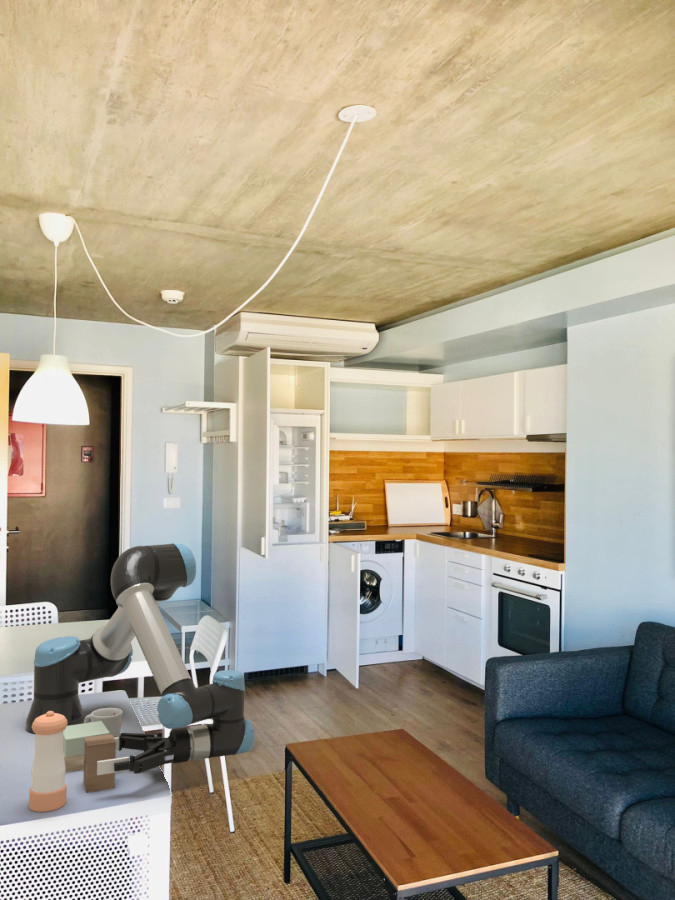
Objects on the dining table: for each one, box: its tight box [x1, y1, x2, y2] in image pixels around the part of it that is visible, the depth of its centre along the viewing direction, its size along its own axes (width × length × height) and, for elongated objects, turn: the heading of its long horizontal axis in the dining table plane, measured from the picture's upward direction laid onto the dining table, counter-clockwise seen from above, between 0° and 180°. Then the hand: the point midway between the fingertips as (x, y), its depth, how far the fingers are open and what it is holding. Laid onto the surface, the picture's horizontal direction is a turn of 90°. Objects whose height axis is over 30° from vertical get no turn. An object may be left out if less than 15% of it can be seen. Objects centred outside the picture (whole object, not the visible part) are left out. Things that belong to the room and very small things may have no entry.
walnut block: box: [83, 734, 117, 793], centre depth 165 cm, size 6×6×10 cm
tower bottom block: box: [63, 753, 84, 773], centre depth 178 cm, size 10×10×4 cm
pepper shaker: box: [28, 711, 68, 813], centre depth 155 cm, size 7×7×19 cm
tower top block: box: [63, 721, 110, 757], centre depth 178 cm, size 10×10×4 cm
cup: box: [84, 707, 124, 738], centre depth 192 cm, size 11×8×8 cm
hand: (93, 757), depth 164 cm, fingers open, 13 cm apart
